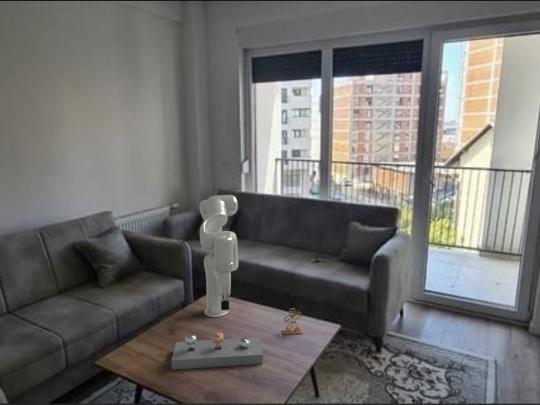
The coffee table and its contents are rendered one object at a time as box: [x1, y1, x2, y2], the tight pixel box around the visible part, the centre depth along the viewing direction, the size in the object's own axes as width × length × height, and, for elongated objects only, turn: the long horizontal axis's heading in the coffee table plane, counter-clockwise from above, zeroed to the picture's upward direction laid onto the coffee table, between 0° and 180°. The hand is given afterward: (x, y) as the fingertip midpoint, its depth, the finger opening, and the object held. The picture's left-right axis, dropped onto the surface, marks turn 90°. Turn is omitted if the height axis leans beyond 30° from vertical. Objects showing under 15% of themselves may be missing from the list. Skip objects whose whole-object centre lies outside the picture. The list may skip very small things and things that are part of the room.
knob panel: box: [171, 336, 264, 370], centre depth 163 cm, size 14×36×4 cm, turn 96°
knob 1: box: [184, 333, 197, 350], centre depth 161 cm, size 4×4×6 cm
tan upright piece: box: [282, 307, 303, 336], centre depth 183 cm, size 9×4×12 cm, turn 95°
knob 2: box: [239, 337, 250, 349], centre depth 164 cm, size 4×4×6 cm
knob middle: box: [211, 331, 224, 349], centre depth 162 cm, size 4×4×6 cm
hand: (225, 309), depth 160 cm, fingers closed
